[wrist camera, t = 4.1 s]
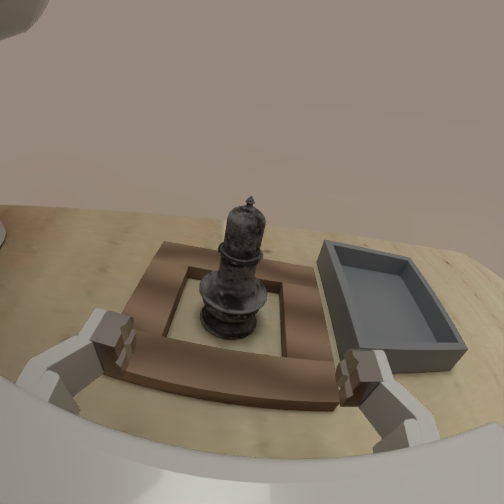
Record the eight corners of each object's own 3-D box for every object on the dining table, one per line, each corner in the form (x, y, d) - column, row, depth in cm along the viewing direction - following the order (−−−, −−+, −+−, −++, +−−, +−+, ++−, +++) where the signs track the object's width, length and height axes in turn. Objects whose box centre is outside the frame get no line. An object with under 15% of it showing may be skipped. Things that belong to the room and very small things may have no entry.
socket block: (332, 411, 19) (340, 402, 18) (101, 372, 18) (97, 361, 17) (309, 277, 34) (313, 267, 33) (163, 251, 33) (164, 241, 32)
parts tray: (449, 370, 23) (468, 349, 21) (342, 372, 22) (359, 347, 20) (400, 277, 38) (410, 257, 37) (316, 262, 38) (324, 239, 36)
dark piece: (240, 292, 29) (263, 182, 23) (271, 331, 25) (308, 212, 19) (187, 304, 26) (197, 183, 20) (212, 349, 22) (233, 217, 16)
